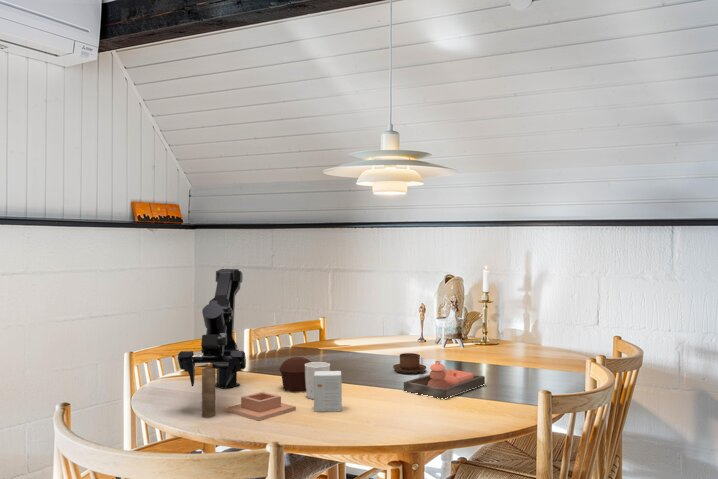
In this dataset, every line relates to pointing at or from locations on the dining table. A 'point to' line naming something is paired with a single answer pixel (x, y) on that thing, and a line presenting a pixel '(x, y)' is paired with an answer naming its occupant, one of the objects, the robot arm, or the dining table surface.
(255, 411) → the pink square stand base
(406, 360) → the cup and saucer
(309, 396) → the white cup
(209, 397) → the thick brown pillar
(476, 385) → the dark grey tray
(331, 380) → the small box
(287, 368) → the muffin
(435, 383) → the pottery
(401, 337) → the dining table surface
